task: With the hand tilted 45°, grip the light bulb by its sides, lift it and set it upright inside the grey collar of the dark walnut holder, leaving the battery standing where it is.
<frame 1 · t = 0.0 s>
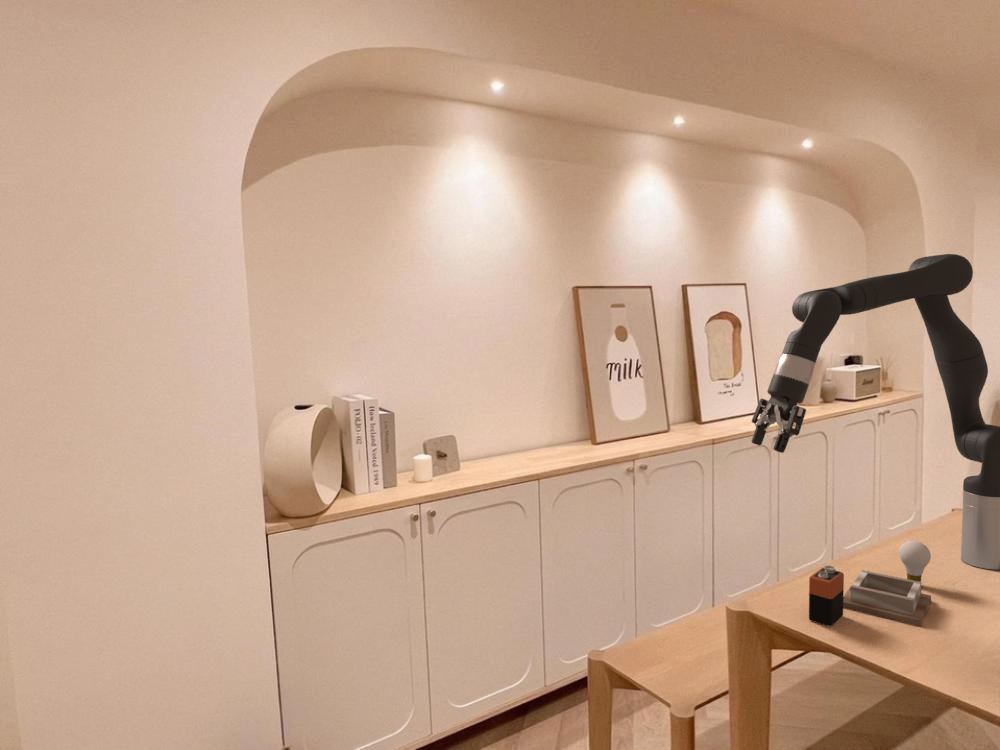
hand: (766, 447, 141), 31 cm above the table, tool tilted 20°, fingers open, 8 cm apart
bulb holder: (885, 603, 133), on the table
battery: (826, 619, 128), on the table
light bulb: (913, 586, 142), on the table
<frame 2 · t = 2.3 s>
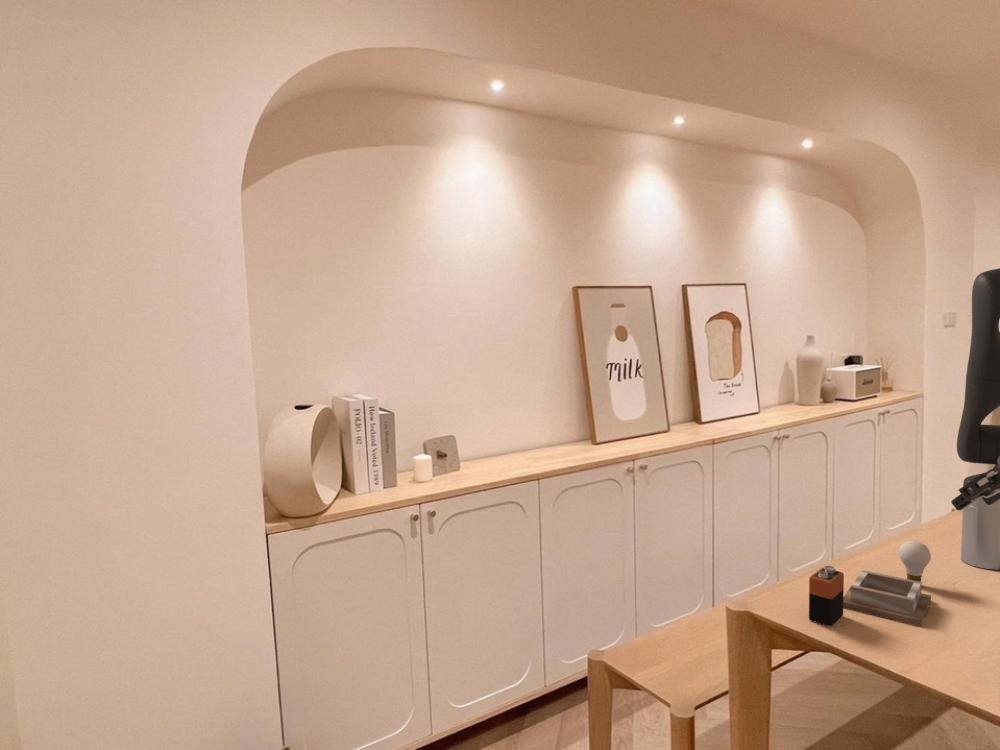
hand: (970, 503, 129), 22 cm above the table, tool tilted 45°, fingers open, 8 cm apart
nothing on the table moved.
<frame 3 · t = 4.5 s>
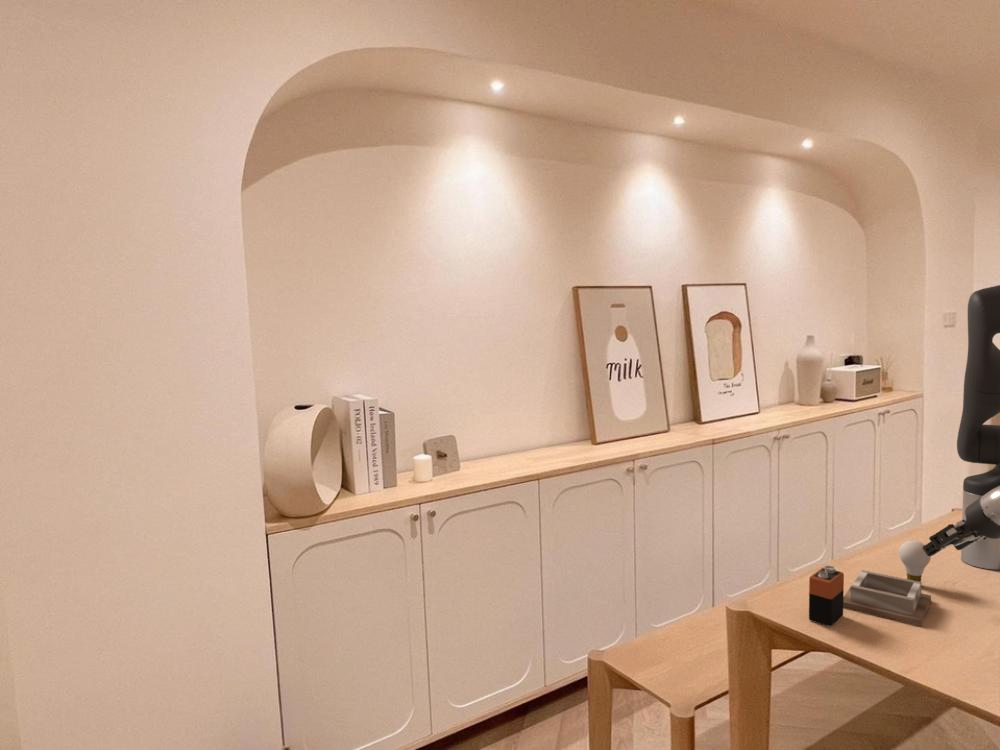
hand: (940, 549, 135), 10 cm above the table, tool tilted 45°, fingers open, 8 cm apart
nothing on the table moved.
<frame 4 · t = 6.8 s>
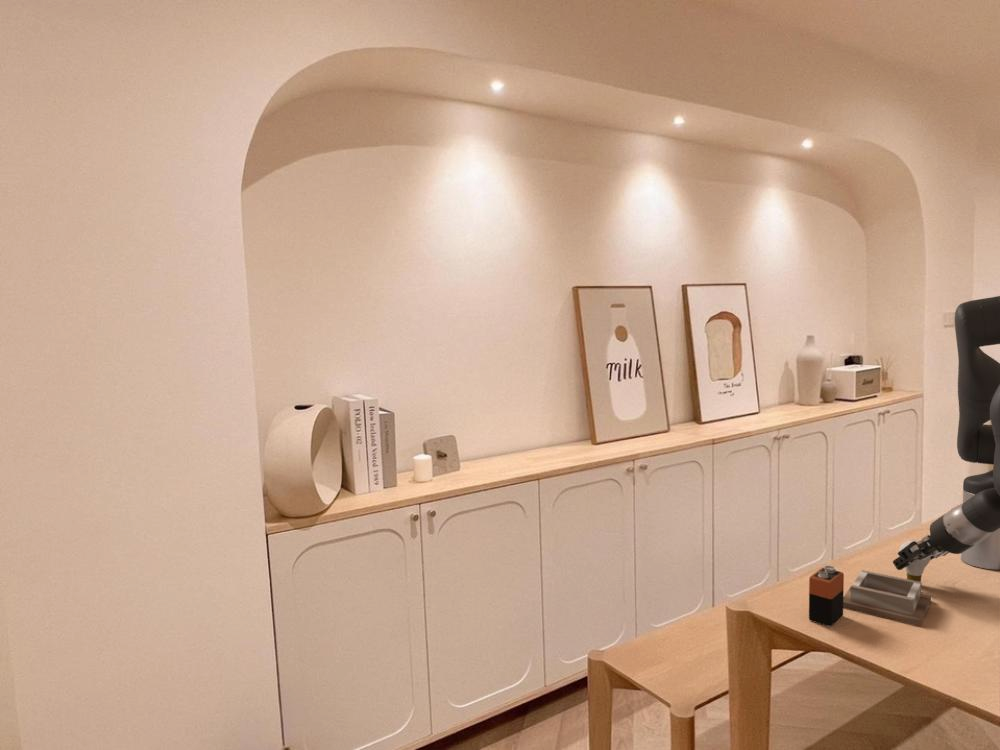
hand: (907, 563, 143), 4 cm above the table, tool tilted 45°, fingers closed on light bulb, 6 cm apart
light bulb: (913, 585, 142), on the table, touching gripper
everything else where it was.
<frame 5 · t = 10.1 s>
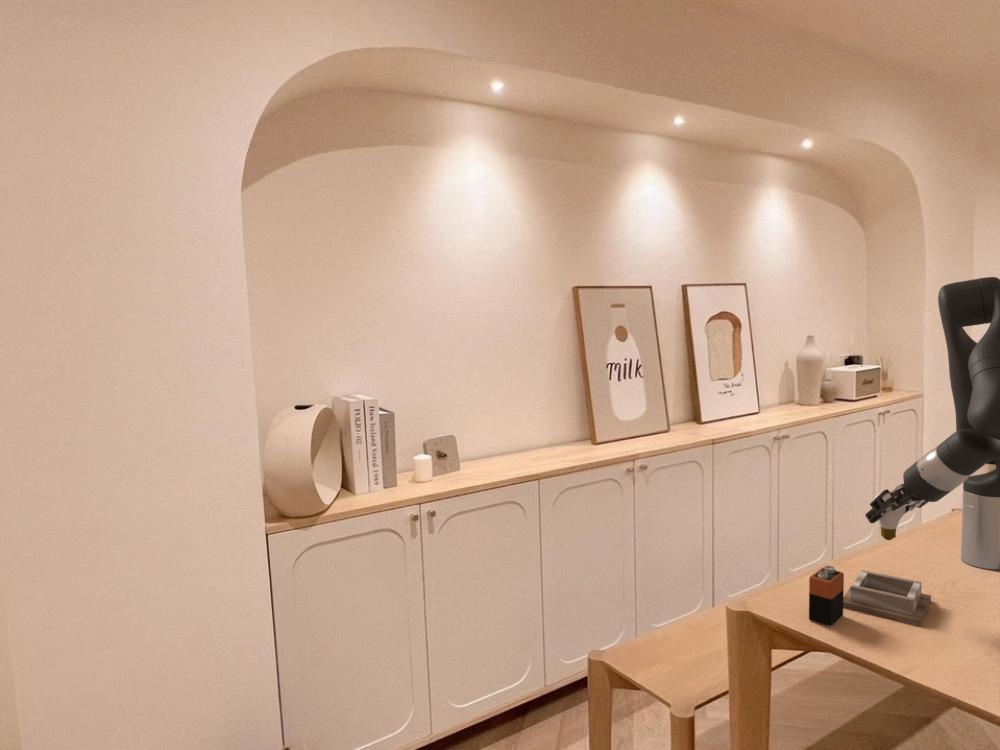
hand: (880, 517, 133), 18 cm above the table, tool tilted 45°, fingers closed on light bulb, 6 cm apart
light bulb: (888, 540, 132), point 14 cm above the table, touching gripper
everything else where it was.
when the fingers open (6 cm above the table, at t = 13.3 s): light bulb stays where it is, resting on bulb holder.
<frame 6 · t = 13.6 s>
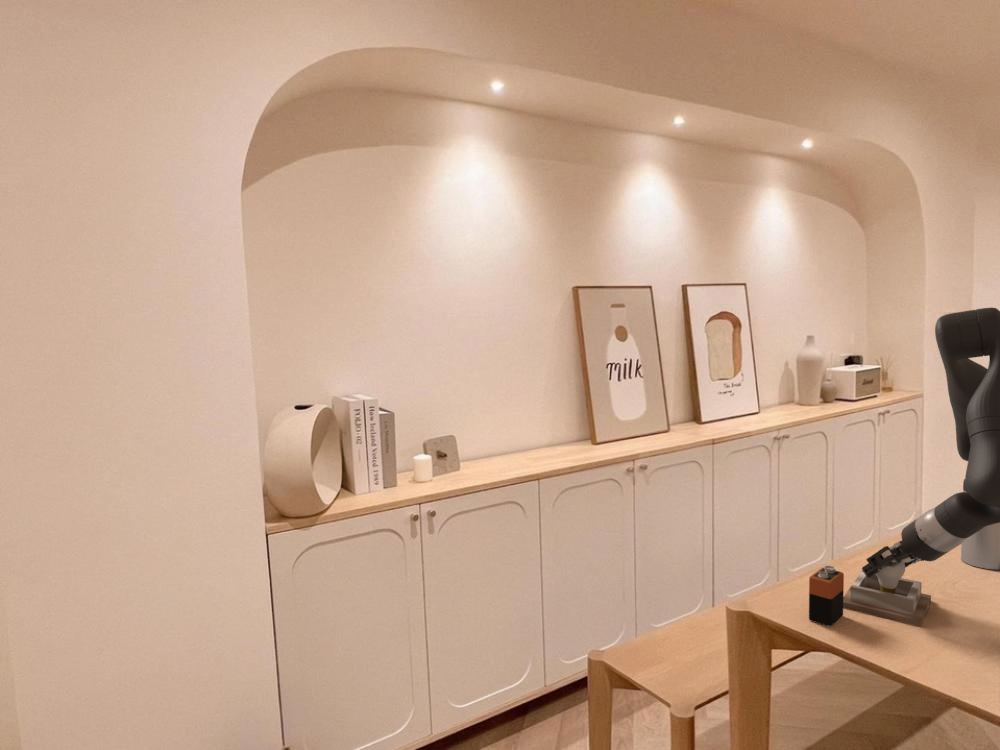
hand: (880, 569, 134), 7 cm above the table, tool tilted 45°, fingers open, 8 cm apart
light bulb: (887, 599, 133), point 1 cm above the table, touching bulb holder
everything else where it was.
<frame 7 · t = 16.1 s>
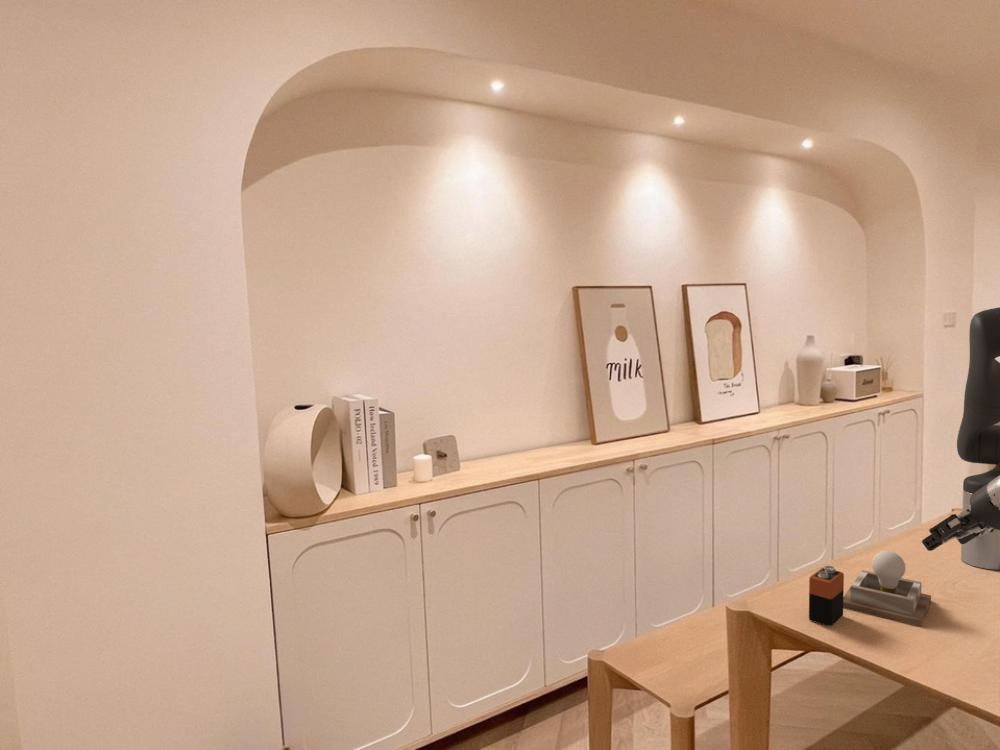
hand: (942, 542, 121), 17 cm above the table, tool tilted 45°, fingers open, 8 cm apart
nothing on the table moved.
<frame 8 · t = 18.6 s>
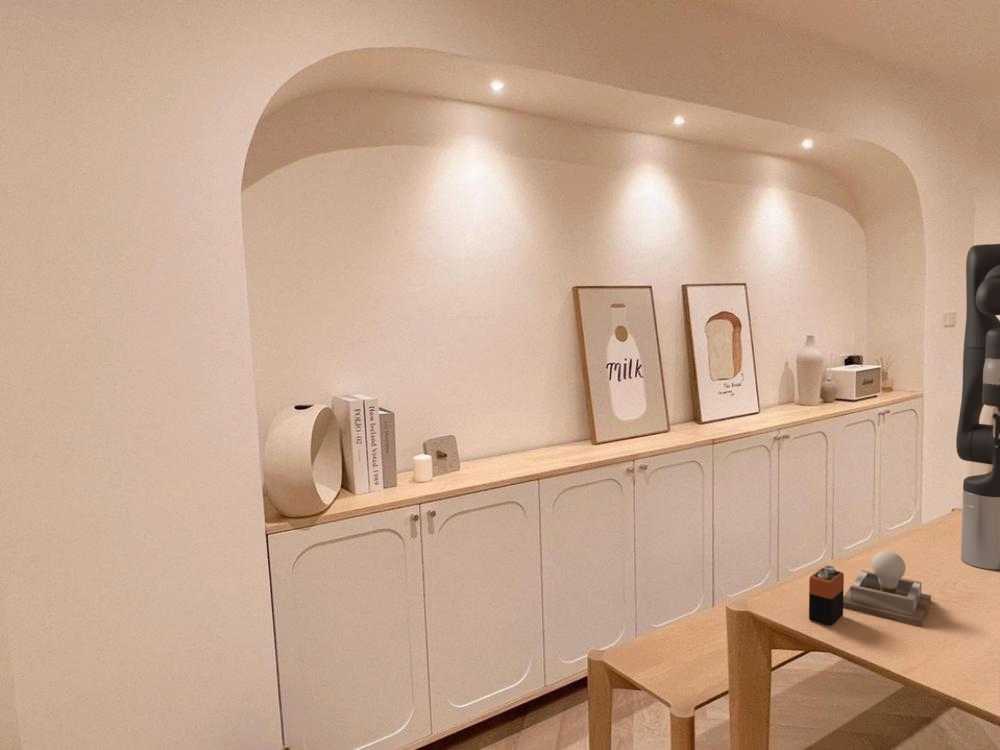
nothing on the table moved.
at the end: light bulb 0.3 cm off-centre on the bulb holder, point 1.0 cm above the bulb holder's base; light bulb tilted 0°; the gripper is holding nothing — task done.
